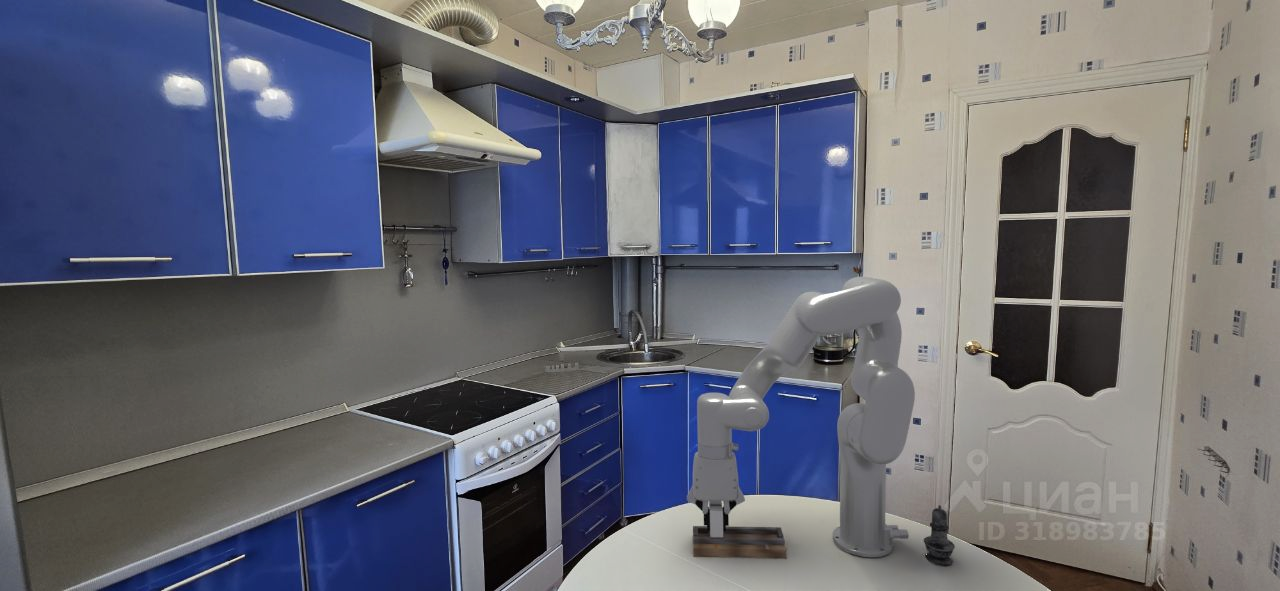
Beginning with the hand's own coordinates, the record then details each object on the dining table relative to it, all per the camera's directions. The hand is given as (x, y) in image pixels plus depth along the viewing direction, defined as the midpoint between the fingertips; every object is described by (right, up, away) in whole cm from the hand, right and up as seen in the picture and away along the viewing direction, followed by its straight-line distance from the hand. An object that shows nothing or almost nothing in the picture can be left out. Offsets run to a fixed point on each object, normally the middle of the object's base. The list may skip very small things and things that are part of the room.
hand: (716, 527), depth 126 cm
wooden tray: (+5, -4, 0) cm, 7 cm away
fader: (0, -2, 0) cm, 2 cm away
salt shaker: (+46, -4, -7) cm, 47 cm away
